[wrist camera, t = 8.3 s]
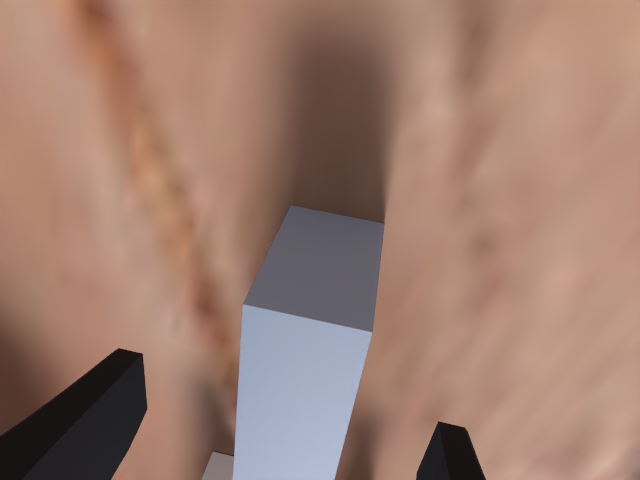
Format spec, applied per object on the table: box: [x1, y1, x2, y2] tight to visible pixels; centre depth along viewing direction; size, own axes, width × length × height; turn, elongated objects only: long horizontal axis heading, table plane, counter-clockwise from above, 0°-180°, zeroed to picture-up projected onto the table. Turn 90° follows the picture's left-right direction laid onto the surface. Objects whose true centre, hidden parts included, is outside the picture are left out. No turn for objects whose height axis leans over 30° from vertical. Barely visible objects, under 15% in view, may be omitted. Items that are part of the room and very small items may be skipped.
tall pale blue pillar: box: [233, 205, 384, 480], centre depth 18 cm, size 4×12×6 cm, turn 173°
